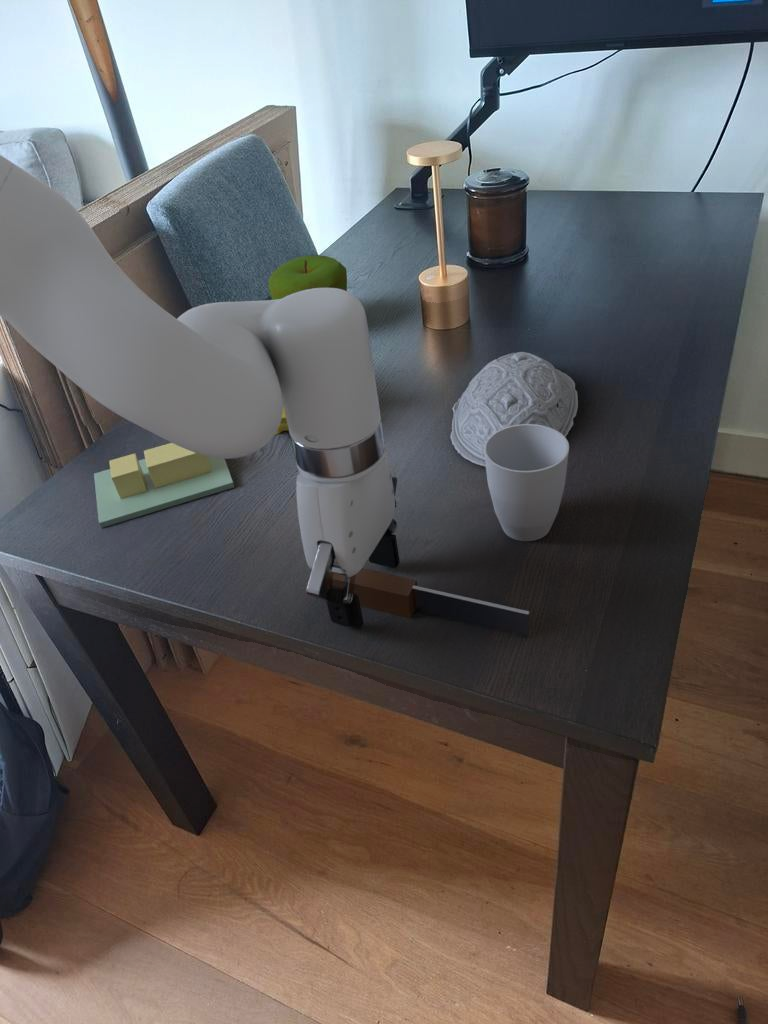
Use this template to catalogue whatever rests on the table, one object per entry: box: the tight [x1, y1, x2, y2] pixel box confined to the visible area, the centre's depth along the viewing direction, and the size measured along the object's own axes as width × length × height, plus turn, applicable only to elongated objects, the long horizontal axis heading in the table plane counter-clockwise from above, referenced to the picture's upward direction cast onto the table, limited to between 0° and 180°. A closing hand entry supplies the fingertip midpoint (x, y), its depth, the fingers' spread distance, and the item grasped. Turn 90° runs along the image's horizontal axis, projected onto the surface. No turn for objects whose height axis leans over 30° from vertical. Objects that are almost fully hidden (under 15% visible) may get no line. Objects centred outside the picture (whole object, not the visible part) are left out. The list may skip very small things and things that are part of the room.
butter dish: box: [93, 456, 235, 529], centre depth 94 cm, size 16×11×1 cm
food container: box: [449, 351, 579, 468], centre depth 95 cm, size 16×25×7 cm, turn 163°
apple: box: [268, 254, 348, 300], centre depth 119 cm, size 12×12×11 cm
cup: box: [484, 424, 570, 542], centre depth 76 cm, size 8×8×10 cm
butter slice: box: [108, 453, 147, 499], centre depth 92 cm, size 3×4×3 cm
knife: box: [332, 561, 531, 638], centre depth 71 cm, size 21×2×3 cm, turn 66°
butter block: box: [143, 442, 211, 488], centre depth 93 cm, size 7×4×3 cm, turn 110°
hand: (366, 591), depth 73 cm, fingers open, 7 cm apart
